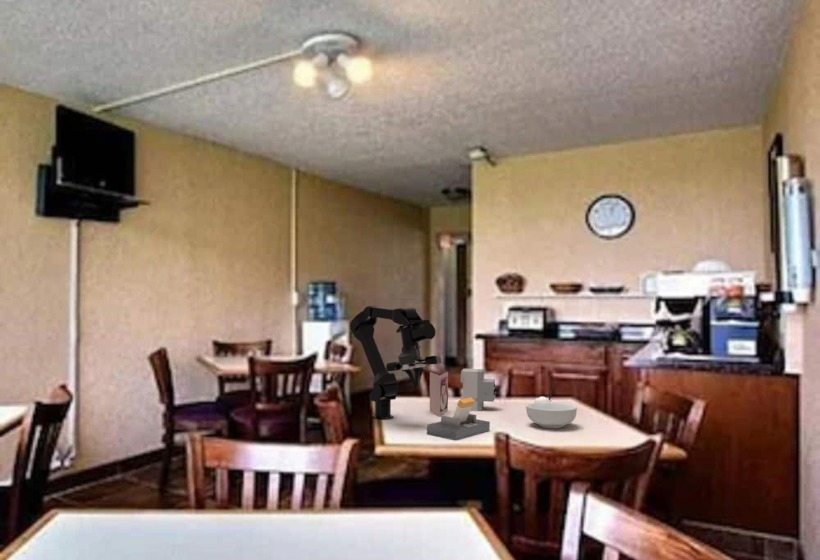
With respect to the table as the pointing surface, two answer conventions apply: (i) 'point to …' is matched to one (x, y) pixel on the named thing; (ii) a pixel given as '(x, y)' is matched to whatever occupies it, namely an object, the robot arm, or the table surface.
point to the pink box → (438, 393)
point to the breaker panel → (458, 427)
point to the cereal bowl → (551, 414)
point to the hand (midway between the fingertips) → (417, 388)
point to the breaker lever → (463, 409)
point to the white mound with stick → (544, 399)
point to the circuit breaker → (477, 387)
